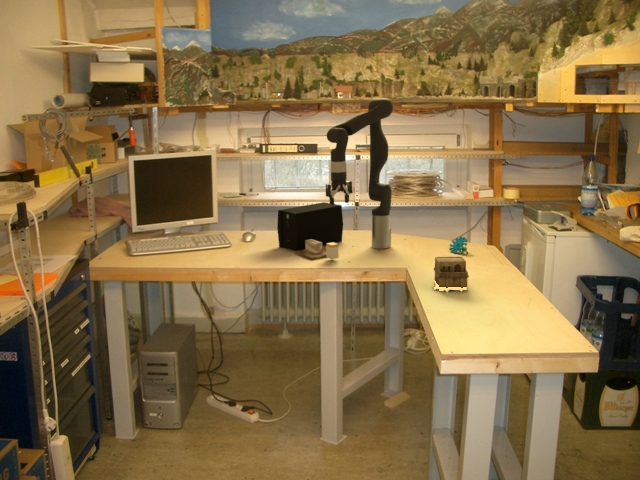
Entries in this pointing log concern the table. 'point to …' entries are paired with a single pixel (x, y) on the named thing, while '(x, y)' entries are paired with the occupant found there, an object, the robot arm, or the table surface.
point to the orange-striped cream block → (332, 250)
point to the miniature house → (451, 272)
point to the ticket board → (311, 255)
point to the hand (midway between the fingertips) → (339, 203)
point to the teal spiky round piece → (458, 245)
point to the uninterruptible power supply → (309, 225)
